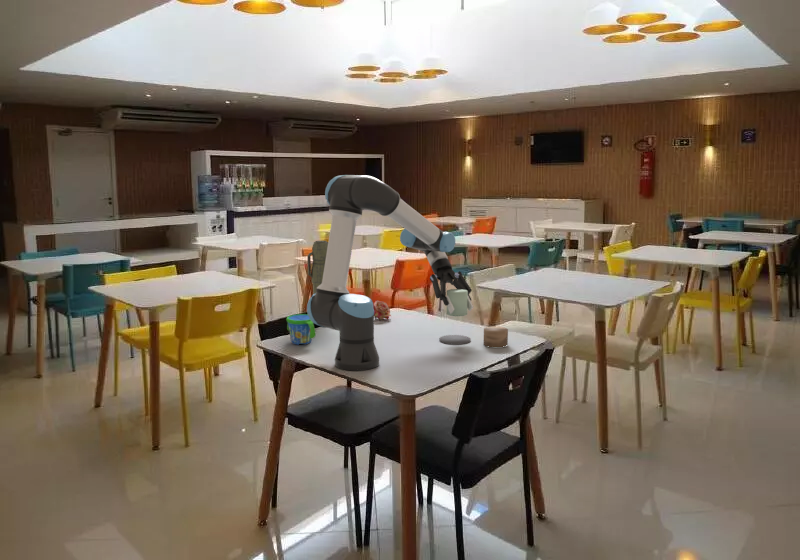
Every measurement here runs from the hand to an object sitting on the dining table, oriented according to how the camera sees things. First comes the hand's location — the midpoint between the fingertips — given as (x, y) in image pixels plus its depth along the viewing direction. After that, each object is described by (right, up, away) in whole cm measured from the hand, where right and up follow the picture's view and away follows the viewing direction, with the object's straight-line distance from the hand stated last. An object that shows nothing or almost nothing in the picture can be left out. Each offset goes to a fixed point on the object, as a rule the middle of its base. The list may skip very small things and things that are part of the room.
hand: (461, 310), depth 249 cm
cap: (-2, -2, +3) cm, 4 cm away
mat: (-2, -12, +4) cm, 13 cm away
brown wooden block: (+12, -13, -2) cm, 18 cm away
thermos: (-57, -7, +37) cm, 68 cm away
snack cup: (-61, -13, +2) cm, 63 cm away
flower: (-32, -6, +39) cm, 51 cm away
